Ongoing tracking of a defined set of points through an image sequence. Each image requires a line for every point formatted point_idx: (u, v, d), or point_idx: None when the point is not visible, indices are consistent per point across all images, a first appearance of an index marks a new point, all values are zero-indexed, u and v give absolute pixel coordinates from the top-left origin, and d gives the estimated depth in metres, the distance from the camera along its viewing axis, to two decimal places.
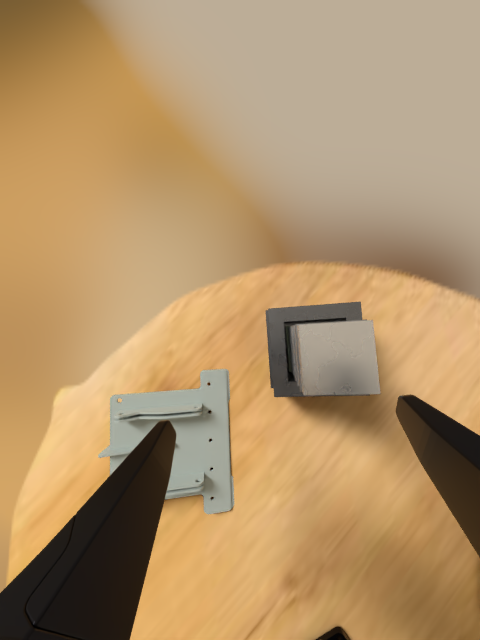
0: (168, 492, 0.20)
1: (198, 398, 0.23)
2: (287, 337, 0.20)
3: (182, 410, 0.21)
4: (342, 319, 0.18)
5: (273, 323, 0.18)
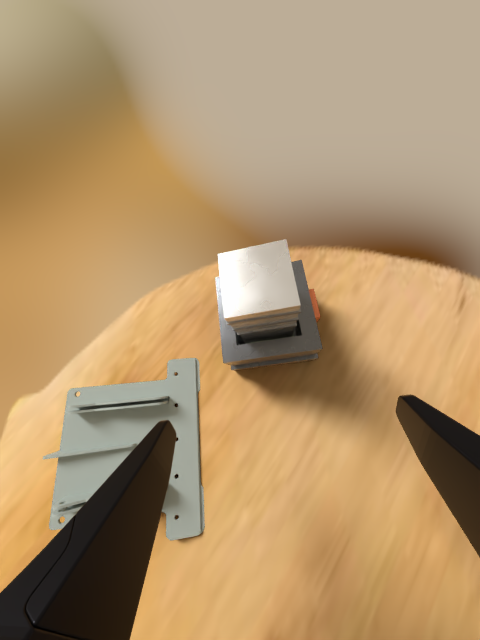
0: None
1: (164, 390, 0.21)
2: None
3: (142, 399, 0.19)
4: None
5: (220, 290, 0.18)
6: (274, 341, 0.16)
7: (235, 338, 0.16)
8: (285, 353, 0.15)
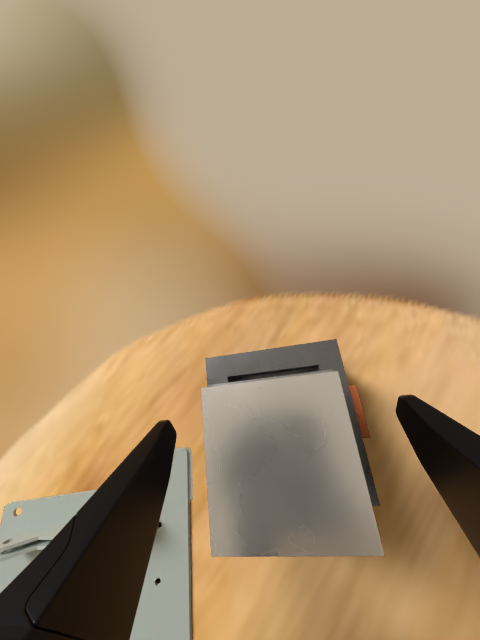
0: None
1: None
2: None
3: None
4: (316, 367, 0.12)
5: (213, 380, 0.12)
6: None
7: None
8: None
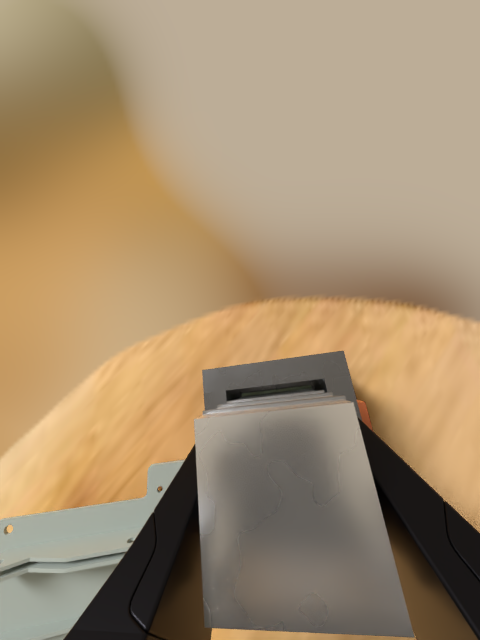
0: None
1: (142, 517, 0.14)
2: None
3: (104, 550, 0.12)
4: (321, 380, 0.11)
5: (210, 394, 0.11)
6: None
7: None
8: None
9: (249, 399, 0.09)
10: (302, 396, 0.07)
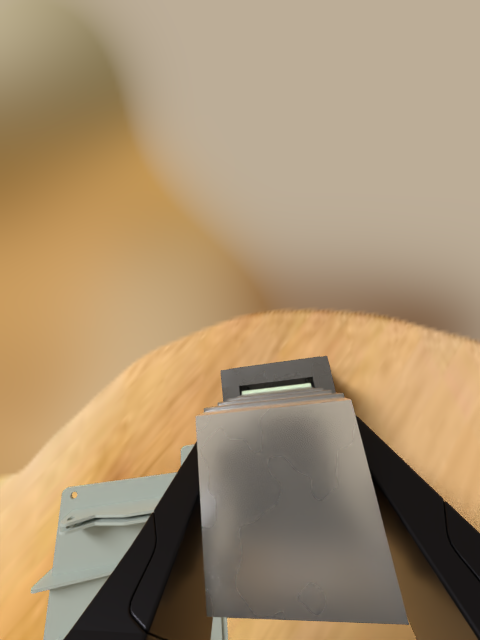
0: None
1: None
2: None
3: (153, 509, 0.16)
4: (311, 378, 0.15)
5: (227, 388, 0.15)
6: None
7: None
8: None
9: (249, 397, 0.09)
10: (301, 394, 0.07)
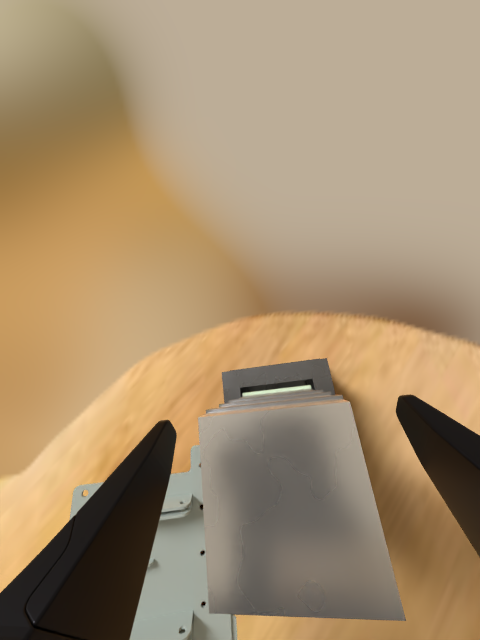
0: None
1: (187, 486, 0.18)
2: None
3: (164, 508, 0.16)
4: (311, 380, 0.15)
5: (228, 390, 0.15)
6: None
7: None
8: None
9: (250, 399, 0.09)
10: (301, 396, 0.08)
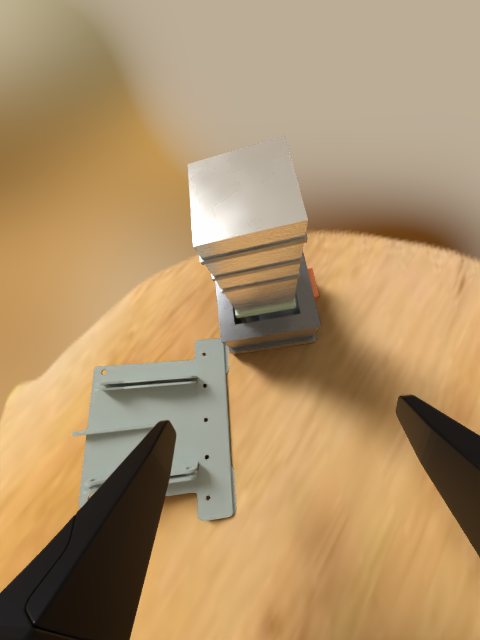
0: None
1: (192, 370, 0.20)
2: None
3: (172, 377, 0.18)
4: None
5: None
6: (272, 320, 0.16)
7: (233, 318, 0.16)
8: (283, 331, 0.15)
9: None
10: None
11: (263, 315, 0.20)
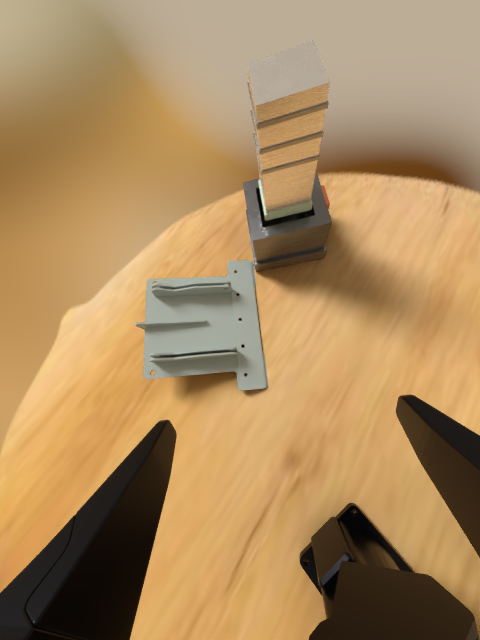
0: None
1: (226, 284, 0.25)
2: (260, 188, 0.20)
3: (213, 282, 0.23)
4: None
5: (247, 191, 0.22)
6: (293, 221, 0.20)
7: (261, 223, 0.21)
8: (302, 229, 0.20)
9: None
10: None
11: None
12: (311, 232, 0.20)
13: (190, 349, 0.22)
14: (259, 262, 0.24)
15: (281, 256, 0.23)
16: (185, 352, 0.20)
